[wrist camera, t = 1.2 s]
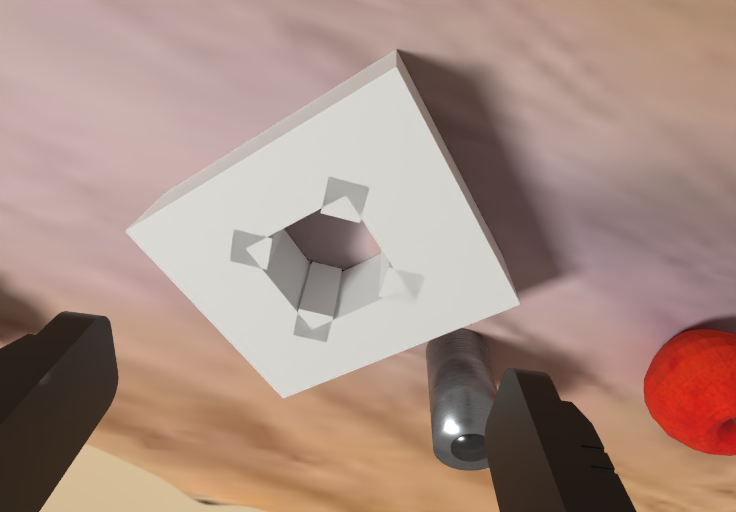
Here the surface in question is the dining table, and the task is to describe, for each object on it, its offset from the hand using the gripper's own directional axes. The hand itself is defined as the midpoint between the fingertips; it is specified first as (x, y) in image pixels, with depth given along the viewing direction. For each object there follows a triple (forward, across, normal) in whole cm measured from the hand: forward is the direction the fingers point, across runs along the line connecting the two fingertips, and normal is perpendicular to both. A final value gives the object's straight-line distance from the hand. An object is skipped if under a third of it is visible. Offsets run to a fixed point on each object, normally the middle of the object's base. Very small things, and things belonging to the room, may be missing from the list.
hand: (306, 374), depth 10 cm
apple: (+19, -25, +11) cm, 33 cm away
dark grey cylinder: (+20, -9, +14) cm, 26 cm away
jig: (+19, 0, +6) cm, 20 cm away
